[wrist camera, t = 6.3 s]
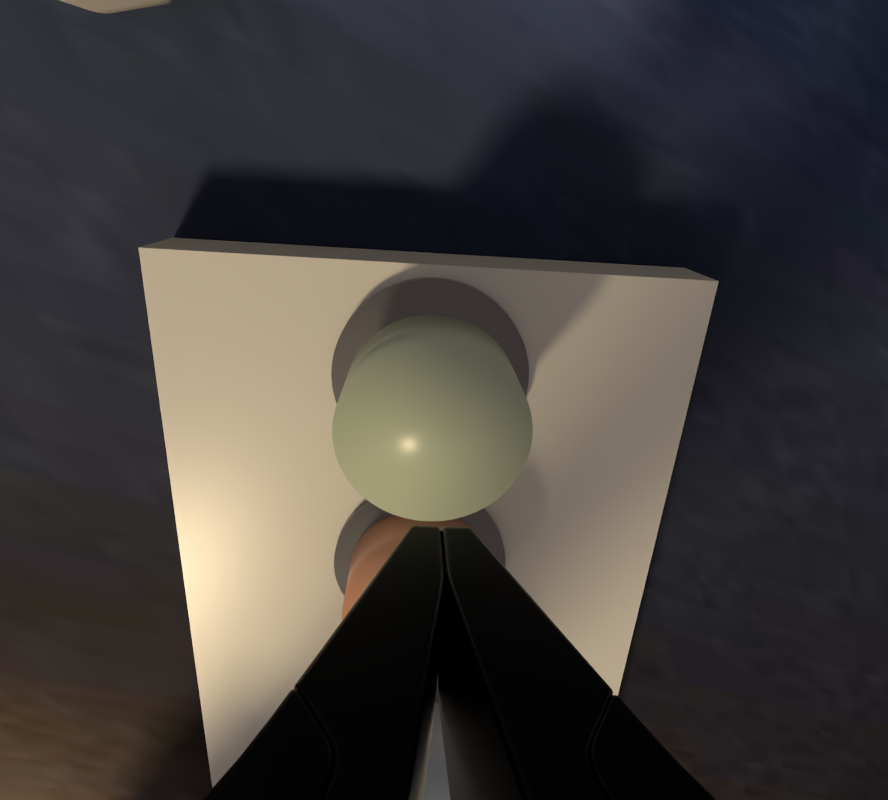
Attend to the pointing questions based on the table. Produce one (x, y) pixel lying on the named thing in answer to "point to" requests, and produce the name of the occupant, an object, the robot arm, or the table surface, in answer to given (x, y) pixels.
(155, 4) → the salt shaker
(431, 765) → the slate button
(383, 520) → the terracotta button
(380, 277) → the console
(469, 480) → the sage button
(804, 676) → the table surface
